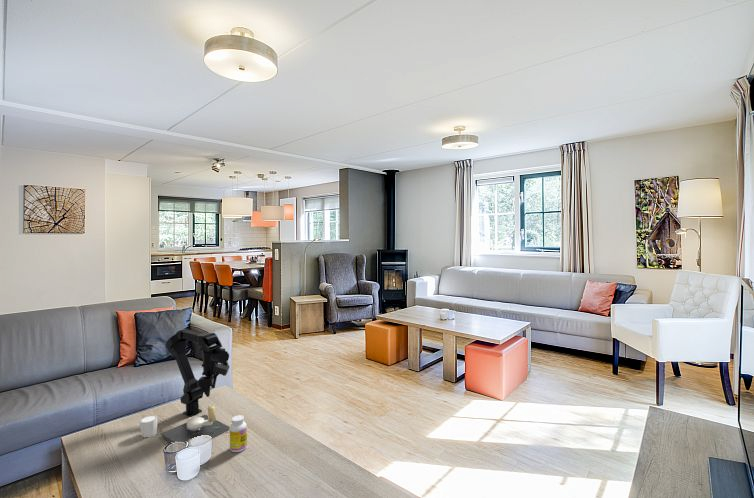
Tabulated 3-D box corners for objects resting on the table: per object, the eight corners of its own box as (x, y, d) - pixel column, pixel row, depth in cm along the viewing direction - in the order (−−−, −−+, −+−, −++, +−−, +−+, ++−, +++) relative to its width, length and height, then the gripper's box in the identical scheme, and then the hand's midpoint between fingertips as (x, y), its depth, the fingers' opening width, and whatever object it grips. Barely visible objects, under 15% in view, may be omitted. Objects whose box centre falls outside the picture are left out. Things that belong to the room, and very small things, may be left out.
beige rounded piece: (184, 430, 158) (183, 413, 158) (190, 422, 165) (189, 405, 165) (213, 428, 160) (212, 410, 160) (218, 420, 167) (217, 403, 167)
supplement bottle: (241, 454, 147) (240, 423, 146) (226, 452, 148) (225, 421, 148) (250, 444, 153) (249, 414, 153) (236, 442, 155) (235, 413, 154)
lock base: (161, 436, 160) (161, 429, 160) (205, 417, 176) (205, 410, 176) (184, 452, 149) (184, 444, 148) (229, 429, 165) (229, 423, 165)
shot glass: (161, 430, 166) (161, 415, 165) (151, 438, 159) (150, 423, 158) (147, 429, 166) (147, 414, 166) (136, 438, 159) (135, 422, 159)
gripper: (222, 366, 166) (223, 399, 166) (231, 352, 184) (232, 382, 185) (196, 368, 164) (197, 402, 165) (208, 354, 182) (209, 384, 183)
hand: (210, 392), depth 174 cm, fingers open, 9 cm apart
